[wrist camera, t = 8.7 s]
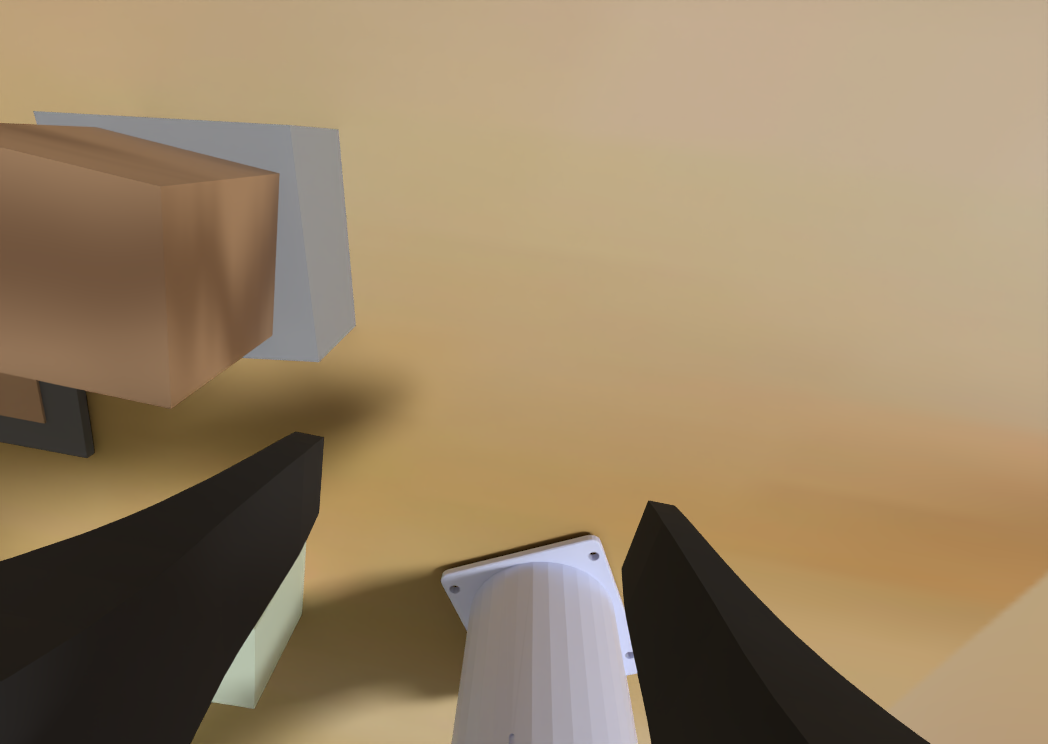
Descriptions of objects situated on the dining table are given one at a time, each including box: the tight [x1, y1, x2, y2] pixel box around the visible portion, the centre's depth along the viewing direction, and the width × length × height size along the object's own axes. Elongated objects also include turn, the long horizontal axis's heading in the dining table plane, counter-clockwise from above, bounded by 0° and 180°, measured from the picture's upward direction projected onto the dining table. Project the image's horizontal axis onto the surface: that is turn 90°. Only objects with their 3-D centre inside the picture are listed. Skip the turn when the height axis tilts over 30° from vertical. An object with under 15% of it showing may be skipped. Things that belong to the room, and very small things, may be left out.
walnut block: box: [0, 123, 280, 409], centre depth 13 cm, size 5×5×5 cm
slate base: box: [33, 111, 356, 362], centre depth 17 cm, size 7×7×4 cm
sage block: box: [212, 542, 306, 709], centre depth 23 cm, size 5×5×5 cm
